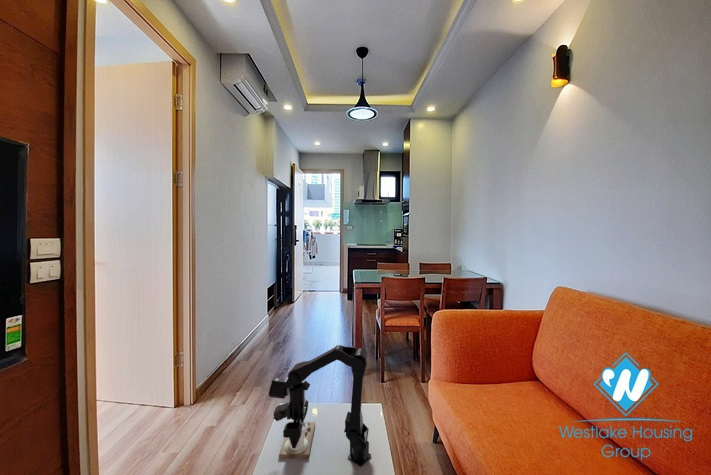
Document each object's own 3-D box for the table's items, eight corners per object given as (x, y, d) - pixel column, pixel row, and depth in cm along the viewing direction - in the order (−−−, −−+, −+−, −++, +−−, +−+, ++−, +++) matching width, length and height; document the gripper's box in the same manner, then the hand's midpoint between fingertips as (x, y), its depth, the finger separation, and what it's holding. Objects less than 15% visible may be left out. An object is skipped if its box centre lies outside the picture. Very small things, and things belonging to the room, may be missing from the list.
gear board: (315, 425, 123) (315, 417, 123) (308, 458, 105) (308, 448, 105) (289, 425, 123) (289, 416, 123) (278, 458, 105) (279, 448, 105)
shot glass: (307, 439, 113) (307, 421, 113) (302, 452, 106) (302, 433, 106) (290, 437, 114) (291, 419, 113) (284, 450, 107) (284, 431, 107)
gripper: (282, 385, 119) (281, 422, 119) (268, 414, 100) (268, 457, 100) (308, 385, 119) (308, 422, 119) (300, 414, 100) (300, 458, 100)
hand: (296, 438), depth 110 cm, fingers open, 9 cm apart
